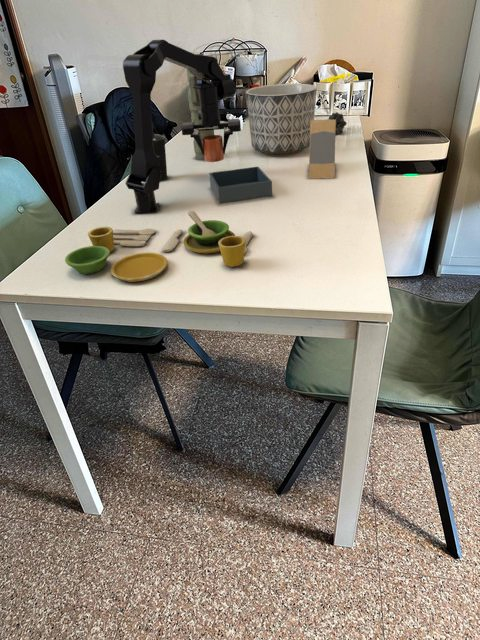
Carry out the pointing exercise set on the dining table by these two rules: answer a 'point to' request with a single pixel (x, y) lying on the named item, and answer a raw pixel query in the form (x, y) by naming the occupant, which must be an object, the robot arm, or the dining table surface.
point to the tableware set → (149, 265)
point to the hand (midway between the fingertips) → (214, 154)
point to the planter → (281, 117)
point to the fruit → (338, 122)
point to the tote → (240, 185)
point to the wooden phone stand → (322, 149)
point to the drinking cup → (160, 152)
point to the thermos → (196, 111)
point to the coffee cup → (213, 148)
